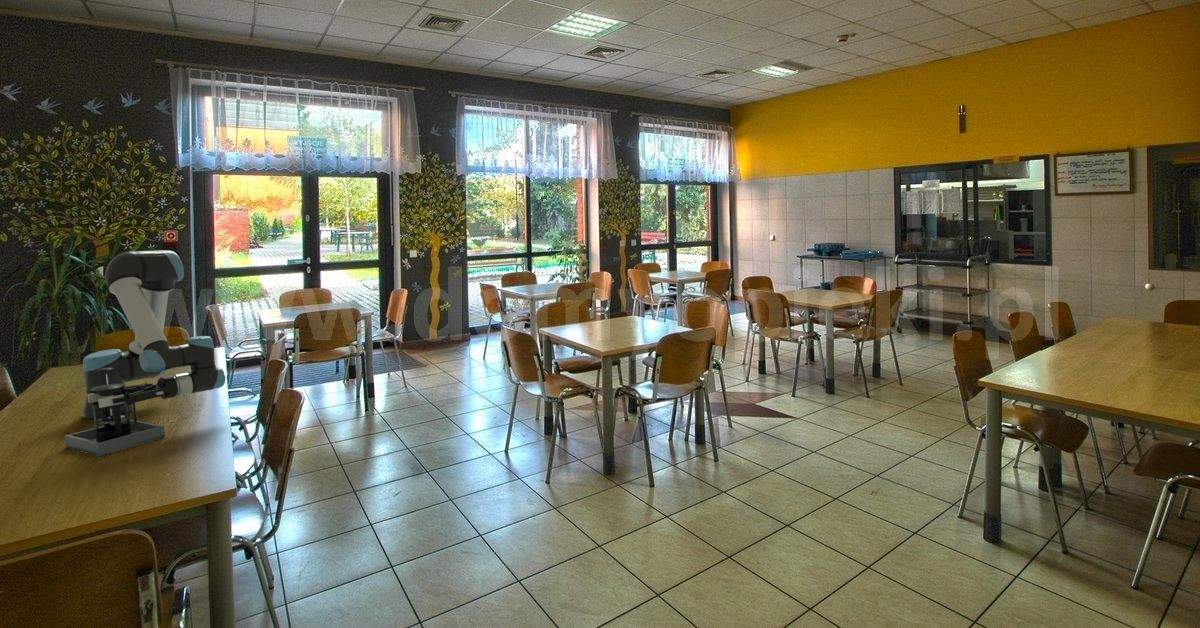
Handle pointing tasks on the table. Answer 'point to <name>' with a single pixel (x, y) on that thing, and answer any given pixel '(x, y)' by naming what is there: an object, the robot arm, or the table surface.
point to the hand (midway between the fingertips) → (93, 401)
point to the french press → (108, 429)
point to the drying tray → (139, 435)
